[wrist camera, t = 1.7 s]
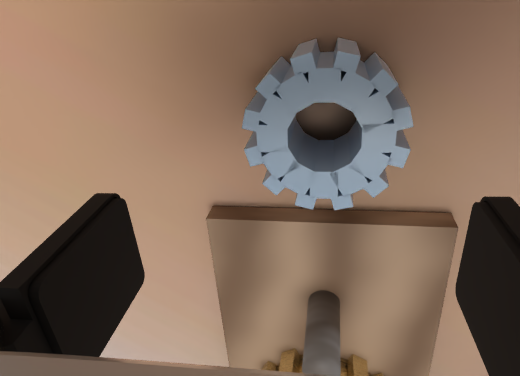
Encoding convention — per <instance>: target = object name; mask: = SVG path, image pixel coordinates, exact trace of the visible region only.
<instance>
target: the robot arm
mask: <svg viewBox="0 0 520 376" xmlns="http://www.w3.org/2000/svg"><path fill="white" fill-rule="evenodd" d="M143 282H144V269H143V265H142V261H141V257H140V253H139V250H138V246H137V242H136V238H135V234H134V231H133V227H132V223H131V219H130V215H129V211H128V208H127V204H126V201H125V200H124V199H123V198H120V196H119V195H118V194H116V193H97V194H95V195H94V196H92V197H91V198H90V199H89V200H88V201H87V202H86V203H85V204H84V205H83V206H82V207H81V208H80V209H78V210H77V211H76V212H75V213H74V214H73V215H72V216H71V217H70V218H69V219H68V220H67V221H66V222H64V223H63V224H62V225H61V226H60V227H59V228H58V229H57V230H56V231H55V232H54V233H53V234H52V235H50V236H49V237H48V238H47V239H46V240H45V241H44V242H43V243H42V244H41V245H40V246H39V247H38V248H36V249H35V250H34V251H33V252H32V253H31V254H30V255H29V256H28V257H27V258H26V259H25V260H24V261H22V262H21V263H20V264H19V265H18V266H17V267H16V268H15V269H14V270H13V271H12V272H11V273H10V274H8V275H7V276H6V277H5V278H4V279H3V280H2V281H1V282H0V376H329V375H318V374H306V373H294V372H282V371H269V370H257V369H245V368H233V367H220V366H208V365H195V364H183V363H170V362H157V361H143V360H130V359H117V358H103V357H99V356H100V355H101V353H102V351H103V350H104V348H105V346H106V345H107V343H108V341H109V340H110V338H111V336H112V335H113V333H114V331H115V330H116V328H117V326H118V325H119V323H120V321H121V320H122V318H123V316H124V315H125V313H126V311H127V310H128V308H129V306H130V305H131V303H132V301H133V300H134V298H135V296H136V295H137V293H138V291H139V290H140V288H141V286H142V284H143ZM456 297H457V300H458V303H459V305H460V308H461V310H462V312H463V315H464V317H465V319H466V322H467V324H468V327H469V329H470V331H471V334H472V336H473V338H474V341H475V343H476V346H477V348H478V350H479V353H480V355H481V358H482V360H483V362H484V365H485V367H486V369H487V372H488V374H489V376H520V207H519V206H518V204H517V203H516V202H515V201H514V200H513V199H512V198H511V197H483V198H482V199H481V201H480V202H475V203H474V204H473V207H472V211H471V215H470V220H469V225H468V230H467V234H466V239H465V244H464V249H463V253H462V258H461V263H460V268H459V272H458V277H457V282H456Z"/></svg>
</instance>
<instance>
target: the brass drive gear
mask: <svg viewBox="0 0 520 376" xmlns="http://www.w3.org/2000/svg"><path fill="white" fill-rule="evenodd" d="M340 362H341V374H340V376H384V375H383V374H382V372H381V373H377V374H373V375H371V374H370V373H369V372H368V368H367V360H365V359H363V358H361V357H359V356H357V355H354V354H352V355H351V356H350V357H349V358H348V359H344V358H341V357H340ZM302 364H303V355H300V354H299V353H298V351H297V350H296V349H295V348H294V349H291V350H287V351H284V352H282V354H281V361H280V363H279V364H278V365H276V364H274V363H272V362H270V361H267V363H266V364H265V365H264V366H263V368H262V369H261V370H269V371H282V372H294V373H303V372H302Z"/></svg>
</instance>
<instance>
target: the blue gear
mask: <svg viewBox="0 0 520 376" xmlns="http://www.w3.org/2000/svg"><path fill="white" fill-rule="evenodd" d="M290 61H291V64H292V65H290V64H289V63H288V62H287V61H286V60H285V59H284V58H283V57H282V56H281V57H280V58H279V59H278V60H277V61H276V63H275V64H274V65H273V66H272V67H271V68H270V69H269V71H268V72H267V73H266V75H265V76H264V78H263V79H262V80H261V82H260V83H259V84H258V86H257V87H256V88H255V89H256V90H257V91H258V92H257V93H256V95H255V96H254V98H253V99H252V100H251V102H250V103H249V105H248V106H247V107H246V109H245V114H244V119H243V125H242V128H243V129H247V130H251V131H254V132H253V134H252V136H251V137H250V139H249V141H248V143H247V145H246V147H245V148H244V151H245V154H246V156H247V159H248V162H249V164H250V167H251V166H255V165H259V164H263V163H264V165H265V166H266V168H267V172H266V175H265V178H264V180H263V183H262V184H263V185H265V186H266V187H267V188H268V189H269V190H270V191H272V192H273V193H274V194H275V195H277V194H278V193H280V192H281V191H282V190H283V189H284V188H285V187H286V188H288V189H290V190H292V191H294V192H296V193H297V196H296V201H295V205H296V206H300V207H304V208H308V209H312V210H313V208H314V205H315V201H316V198H324V199H331V201H332V204H333V207H334V210H339V209H344V208H350V207H353V195H352V194H353V193H355V192H357V191H359V190H362V189H364V190H366V191H367V192H368V193H369V194H370V195H371V196H372V197H373V198H374V197H375V196H376V195H378V194H379V193H380V192H382V191H383V190H384V189H386V188H387V187H388V186H389V184H388V180H387V176H386V172H385V168H386V166H387V165H392V166H396V167H400V168H403V167H404V164H405V162H406V160H407V157H408V155H409V153H410V150H411V149H410V147H409V144H408V142H407V140H406V137H405V135H404V133H403V130H402V129H406V128H410V127H413V121H412V116H411V110H410V106H409V104H408V102H407V100H406V99H405V97H404V95H403V93H402V92H401V90H400V88H399V86H398V85H399V84H398V83H397V81H396V79H395V77H394V76H393V74H392V72H391V70H390V69H389V67H388V65H387V64H386V63H385V62H384V61H383V60H382V59H381V58H380V57H379V56H378V55H377V54H376V53H375V52H374V53H373V54H372V55H371V56H370V57H369V58H368V59H367V60H366V61H365V62H362V61H361V60H360V52H359V49H358V46H357V42H356V41H352V40H347V39H343V38H338V39H337V42H336V46H335V50H334V52H320V50H319V46H318V42H317V39H313V40H310V41H307V42H304V43H301V44H299V45H298V46H297V48H296V50H295V51H294V53H293V55H292V57H291V58H290ZM331 102H335V103H337V104H339V105H341V106H342V107H344V108H346V109H348V110H350V111H352V112H353V113H354V115H355V117H356V119H357V120H356V122H355V123H354V125H353V126H352V128H351V129H350V131H349V132H348V133H346V134H345V135H343V136H341V137H339V138H337V139H335V140H317V139H315V138H313V137H311V136H310V135H308V134H306V133H304V131H303V130H302V128H301V127H300V125H299V123H298V122H297V120H296V113H298V112H299V111H301V110H303V109H304V108H306V107H308V106H310V105H311V104H313V103H331Z"/></svg>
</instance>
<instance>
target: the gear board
mask: <svg viewBox="0 0 520 376" xmlns="http://www.w3.org/2000/svg"><path fill="white" fill-rule="evenodd" d="M206 222H207V228H208V234H209V241H210V247H211V253H212V260H213V266H214V272H215V279H216V285H217V291H218V297H219V304H220V310H221V316H222V323H223V329H224V335H225V342H226V348H227V354H228V361H229V367H233V368H245V369H257V370H261V369H262V368H263V366H264V365H265V364H266V363H267V361H270V362H272V363H274V364H276V365H278V364H279V363H280V361H281V354H282V352H284V351H287V350H291V349H294V348H295V349H296V350H297V351H298V353H299V354H300V355H303V364H302V372H303V373H306V374H318V375H329V376H340V374H341V362H340V357H341V358H344V359H348V358H349V357H350V356H351V355H352V354H354V355H357V356H359V357H361V358H363V359H365V360H367V368H368V372H369V373H370V374H371V375H373V374H377V373H381V372H382V374H383V375H384V376H429V372H430V367H431V362H432V357H433V352H434V347H435V342H436V337H437V332H438V327H439V322H440V317H441V312H442V307H443V302H444V297H445V292H446V287H447V282H448V277H449V272H450V267H451V262H452V257H453V252H454V247H455V242H456V237H457V232H458V226H457V224H456V222H455V220H454V218H453V216H452V214H451V213H434V212H401V211H367V210H333V209H313V210H312V209H299V208H265V207H231V206H213V207H212V209H211V211H210V212H209V214H208V216H207V218H206Z"/></svg>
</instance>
